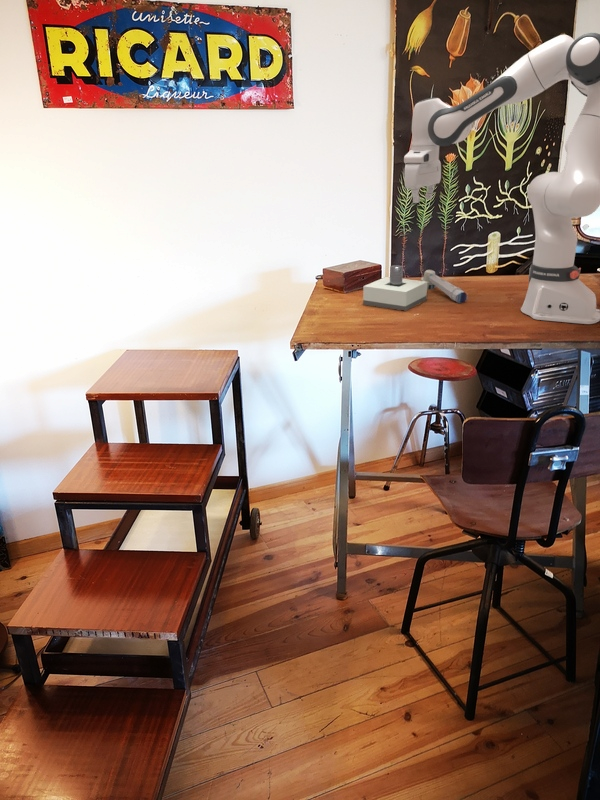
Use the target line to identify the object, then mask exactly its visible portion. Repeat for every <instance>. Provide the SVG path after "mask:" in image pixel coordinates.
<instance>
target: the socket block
mask: <svg viewBox="0 0 600 800" xmlns="http://www.w3.org/2000/svg"><path fill="white" fill-rule="evenodd" d="M362 290H363V292H362V293H363V294H362V295H363V296H362V297H363V298H362V299H363V300H362V302H363V303H362V304H363V305H364V306H369V307H375V306H376V307H377V308H382V309H388V308H390V310H394V309H397V311H401V310H404V311H403V312H406V311H409V310H410V309H412V308H414V307H415V306H418V305H419V304H421V303H423V302H426V301H427V297H428V296H427V295H428V293H427V291H428V289H427V282H426V281H421V280H416V279H409V278H408V279H407V278H403V279H402V286H400V287H397V286H390V276H385V277H382V278H380V279H378V280H375V281H373V282H372V281H371V282H370V283H368V284H365V285H363V289H362ZM376 307H375V308H376Z"/></svg>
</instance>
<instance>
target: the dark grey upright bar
mask: <svg viewBox="0 0 600 800" xmlns="http://www.w3.org/2000/svg"><path fill="white" fill-rule="evenodd" d="M403 271H404V266H403V265H399V264H398V265H397V264H395V265H390V267H389V277H390V286H397V287H400V286H402V279H404V278H403V277H404V272H403Z"/></svg>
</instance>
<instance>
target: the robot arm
mask: <svg viewBox="0 0 600 800" xmlns="http://www.w3.org/2000/svg"><path fill="white" fill-rule="evenodd" d="M564 80H569V81H570V84H571V85H572V86H573V87H574V88H575V89H576V90H577V91H578V92H579V93H580V94H581V95H583V96H584V97H586V100H585V103H584V105H583V107H582V109H581V111H580V113H579V115H578V118H577V119H576V121H575V123H574V125H573V127H572V129H571V132H570V133H569V135H568V137H567V139H566V141H565V145H564V147H565V148H564V149H565V152H566V157H565V163H564V167H563V170H562V172H558V171H550V172H545V173H542V174H539V175H537V176H535V177H534V178H533V179H532V180H531V182H529V185H528V187H527V192H526V193H527V194H526V195H527V200H528V202H529V204H530V205H531V209H532V214H533V220H534V232H535V233H534V234H535V235H534V236H535V238H534V239H535V240H534V250H533V257H532V262H531V264H530V268H529V272H528V273H529V274H528V288H527V291H526V294H525V298H524V301H523V304H522V306H521V307H520V311H521V313H523V314H525V315H528V316H530V317H531V318H532V319H534V320H539V321H540V320H541V321H548V322H549V321H550V322H559V323H561V322H562V323H571V324H581V325H583V324H584V325H593V324H597V323H599V322H600V308H597V298H596V294H595V292H593V291H592V289H590V288H589V287H588V286H586V285H587V284H586V285H585V283H583V282H582V281H581V280H580V274H581V269H582V268H581V267H579V268H578V267H577V266H576V265H575V257H576V252H577V245H578V235H577V233H576V232H575V229H574V225H573V221H572V219H576V218H583V217H588V216H591V215H593V214H594V213H595V212H596V211H597V209H598V208H599V207H600V33H596V32H587V33H584V34H582V35H581V36H578V37H577V38H576V39H574V38H573V37H571V36H570V35H567V34H560V35H557V36H554V37H553V38H551V39H549V40H547V41H545V42H544V43H541V44H540V45H538V46H536V47H535V48H533V49H532V50H530V51H529V52H528V53H526V54H524V55H522V56H521V57H520V58H519V59H518V60H516V61H514V63H512V65H511V66H509V67H508V68H507V69H506V70H505V71H503V73H502V74H500V75H499V76H498V77H497V78H496V79H494V80H493V81H492V82H491V83H490V84H489V85H487V86H485V87H484V88H483V89H481V90H479V91H478V92H476V93H475V94H473V95H472V96H471V97H469V98H467V99H465V100H464V101H462V102H461V103H459V104H458V105H454V106H451V105H449V104H447V103H445V102H444V101H442V100H441V99H440V98H439V97H430V98H425V99H422V100H419V101H418V102H416V103H415V105H414V107H413V111H412V119H411V134H412V140H411V145H410V150H409V151H408V152H407V153H405V155H404V157H403V163H404V164H405V165H404V172H403V173H404V187H405V189H407V190H409V189H410V190H411V191H410V192H411V195H412V202H413V204H417V203H420V202H421V196H420V195H419V192H420V188H424V187H426V188H427V190H426V193H425V195H424V196H425V197H424V199H425V200H432V199H433V193H434V189H435V185H438V184H440V182H441V179H442V163H441V161H440V147H448V146H451V145H454V144H458V143H461V142H463V141H465V140H466V139H467V138H468V136H470V134H471V131H472V130H473V129H472V128H473V123H475V122H476V121H478V120H479V119H481V118H483V117H484V116H486V115H488V113H490V112H492V111H494V110H496V109H498V108H500V107H504V106H507V105H511V104H512V105H513V104H518V103H522V102H524V101H527V100H529V99H531V98H534V97H536V96H538V95H540V94H541V93H543V92H544V91H546V90H548V89H549V88H550V87H552V86H554V85H555V84H556V83H558V82H560V81H564Z"/></svg>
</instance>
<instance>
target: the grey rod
mask: <svg viewBox="0 0 600 800" xmlns="http://www.w3.org/2000/svg"><path fill="white" fill-rule="evenodd" d="M420 281H426V282H427V290H435V289H436V288H437V289H439V290H440V291H441V292H442V293H444V294H445V295H447V296H448V297H449V298H450V299H451V301H452V302H453V301H454V302H455V303H457V304H462V303H463V304H464V303H466V301H468V297H469V296H468V294H467V293H466V292H465V291H464V290H463V289H462V288H461V287H457V286H456V285H454V284H452V283H451V282H449V281H448V280H445V279H444V278H442V277H441V276H439V275H437V274H436V271H434V270H432V269H426V270H425V271H424V273H423V276H422V277H420Z"/></svg>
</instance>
